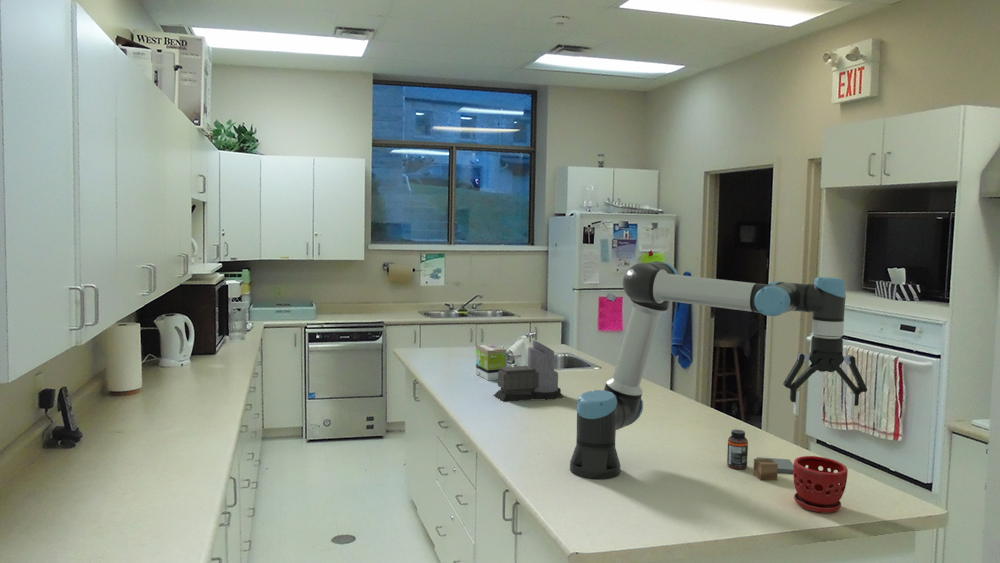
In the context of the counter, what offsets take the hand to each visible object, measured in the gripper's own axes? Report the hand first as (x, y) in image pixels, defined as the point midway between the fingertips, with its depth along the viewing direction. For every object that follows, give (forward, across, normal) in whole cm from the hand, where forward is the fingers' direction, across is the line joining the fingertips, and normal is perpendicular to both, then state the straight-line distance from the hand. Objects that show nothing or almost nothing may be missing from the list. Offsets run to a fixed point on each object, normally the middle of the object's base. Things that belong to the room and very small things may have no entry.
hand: (823, 416), depth 191 cm
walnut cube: (+25, +10, -21) cm, 34 cm away
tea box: (+25, +117, -139) cm, 183 cm away
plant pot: (+25, 0, 0) cm, 25 cm away
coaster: (+25, +5, -32) cm, 40 cm away
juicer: (+25, +93, -104) cm, 142 cm away
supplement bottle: (+25, +17, -29) cm, 42 cm away
